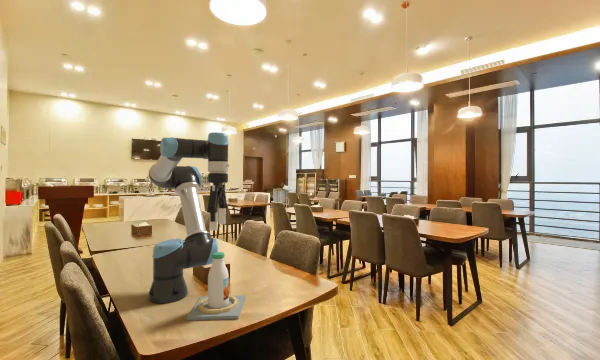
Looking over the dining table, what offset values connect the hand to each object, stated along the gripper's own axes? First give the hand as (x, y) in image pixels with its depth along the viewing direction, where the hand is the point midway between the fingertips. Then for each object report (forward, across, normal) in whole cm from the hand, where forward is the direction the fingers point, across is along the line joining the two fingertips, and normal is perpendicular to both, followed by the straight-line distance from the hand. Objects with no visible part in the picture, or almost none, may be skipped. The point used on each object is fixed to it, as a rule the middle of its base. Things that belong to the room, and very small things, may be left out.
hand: (218, 227), depth 114 cm
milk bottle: (+30, -2, -1) cm, 30 cm away
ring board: (+31, -2, -1) cm, 31 cm away
